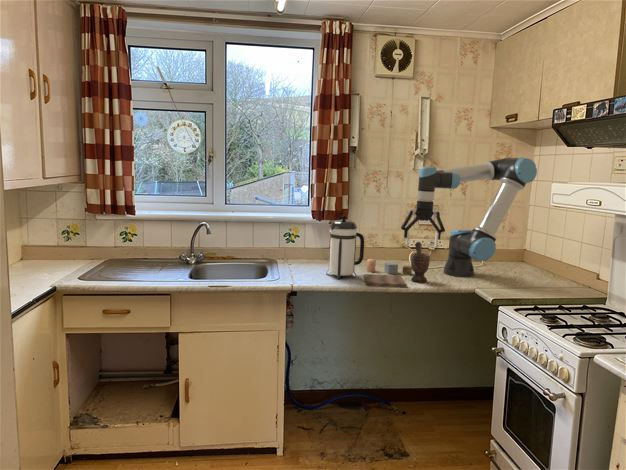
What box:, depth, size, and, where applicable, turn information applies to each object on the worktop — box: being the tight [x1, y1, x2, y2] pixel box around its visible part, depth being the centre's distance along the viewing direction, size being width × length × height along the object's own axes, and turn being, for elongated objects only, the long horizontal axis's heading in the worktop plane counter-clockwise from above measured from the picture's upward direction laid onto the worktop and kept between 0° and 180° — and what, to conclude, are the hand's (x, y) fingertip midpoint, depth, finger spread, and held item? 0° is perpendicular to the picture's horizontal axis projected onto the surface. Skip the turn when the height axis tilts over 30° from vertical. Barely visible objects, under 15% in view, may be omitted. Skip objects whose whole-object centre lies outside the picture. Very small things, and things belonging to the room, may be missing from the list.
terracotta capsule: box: [366, 258, 377, 273], centre depth 234 cm, size 4×4×6 cm
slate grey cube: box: [383, 261, 399, 275], centre depth 232 cm, size 5×5×5 cm
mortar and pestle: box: [410, 241, 431, 284], centre depth 214 cm, size 12×9×20 cm
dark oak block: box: [401, 265, 413, 276], centre depth 231 cm, size 4×4×4 cm
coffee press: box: [325, 214, 365, 281], centre depth 220 cm, size 17×16×30 cm
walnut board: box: [363, 273, 408, 288], centre depth 213 cm, size 18×16×2 cm
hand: (421, 245), depth 213 cm, fingers open, 13 cm apart
